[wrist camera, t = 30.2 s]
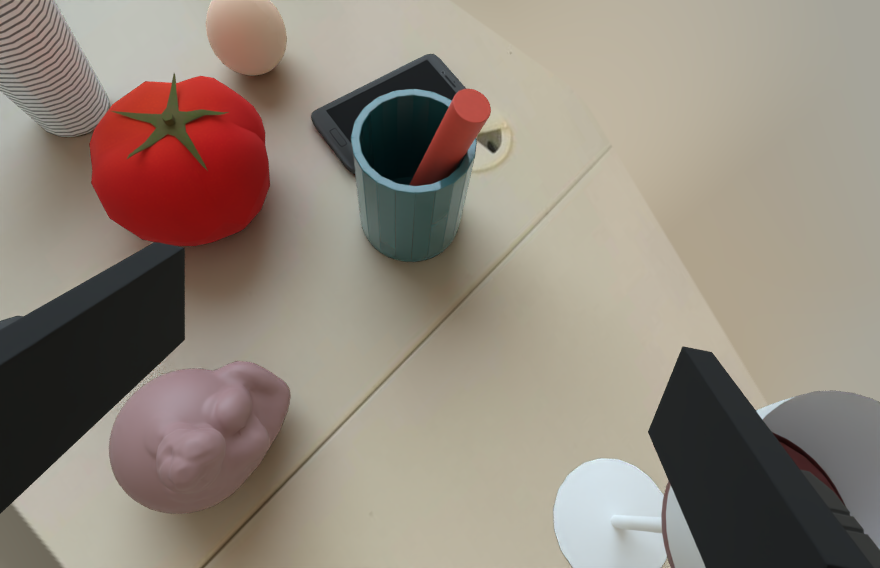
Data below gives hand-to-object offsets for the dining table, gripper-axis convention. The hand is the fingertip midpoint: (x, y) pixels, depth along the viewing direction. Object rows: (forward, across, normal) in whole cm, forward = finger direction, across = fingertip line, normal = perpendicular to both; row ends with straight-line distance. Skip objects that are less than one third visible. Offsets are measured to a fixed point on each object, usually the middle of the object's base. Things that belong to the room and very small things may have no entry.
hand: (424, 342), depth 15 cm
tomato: (+32, -21, -8) cm, 39 cm away
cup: (+36, -35, -4) cm, 50 cm away
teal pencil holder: (+33, -4, -7) cm, 34 cm away
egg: (+42, -21, +2) cm, 47 cm away
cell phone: (+40, -7, 0) cm, 41 cm away
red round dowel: (+32, -4, -6) cm, 33 cm away
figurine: (+19, -13, -21) cm, 31 cm away
